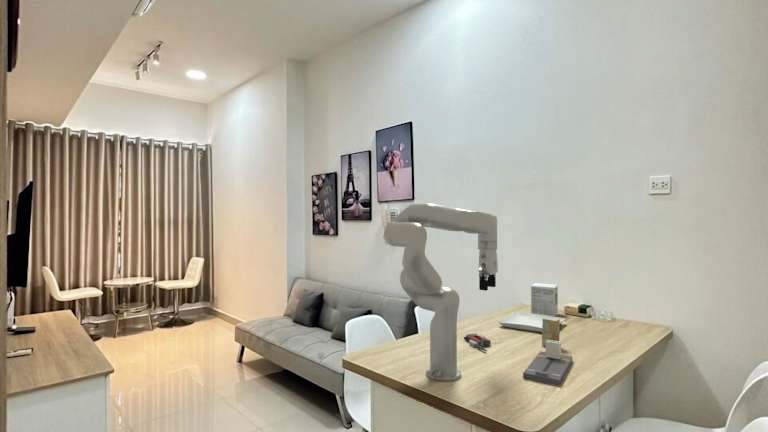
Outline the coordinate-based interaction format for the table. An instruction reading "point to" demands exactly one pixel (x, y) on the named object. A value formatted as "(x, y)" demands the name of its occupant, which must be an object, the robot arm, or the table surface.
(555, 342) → the fader knob
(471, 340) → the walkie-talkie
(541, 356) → the slider console
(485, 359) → the table surface
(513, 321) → the square plate
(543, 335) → the skincare box
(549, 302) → the supplement box
